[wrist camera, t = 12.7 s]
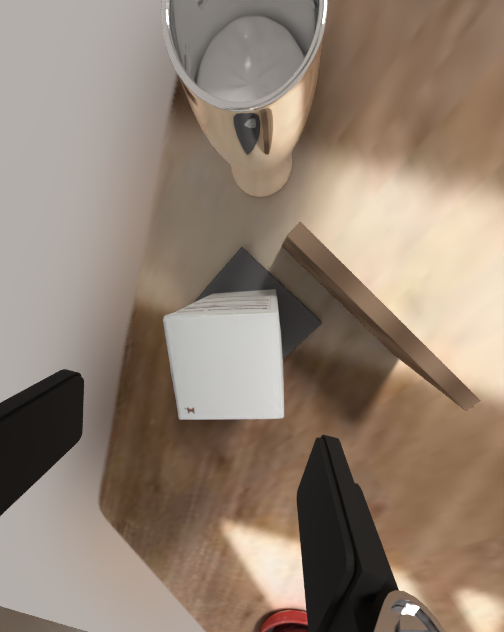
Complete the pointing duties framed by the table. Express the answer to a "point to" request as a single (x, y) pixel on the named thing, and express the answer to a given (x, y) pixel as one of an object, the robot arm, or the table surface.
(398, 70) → the table surface
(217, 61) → the metal tumbler
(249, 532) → the table surface
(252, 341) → the supplement box
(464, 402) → the wood grain panel
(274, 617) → the plant pot
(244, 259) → the mat
